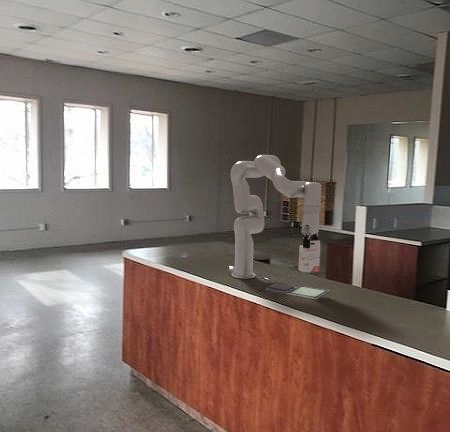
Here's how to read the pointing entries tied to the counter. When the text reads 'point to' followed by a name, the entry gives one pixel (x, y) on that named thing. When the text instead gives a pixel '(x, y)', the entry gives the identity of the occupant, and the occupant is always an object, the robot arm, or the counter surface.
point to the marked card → (308, 292)
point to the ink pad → (280, 288)
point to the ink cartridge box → (309, 258)
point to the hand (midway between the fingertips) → (310, 246)
